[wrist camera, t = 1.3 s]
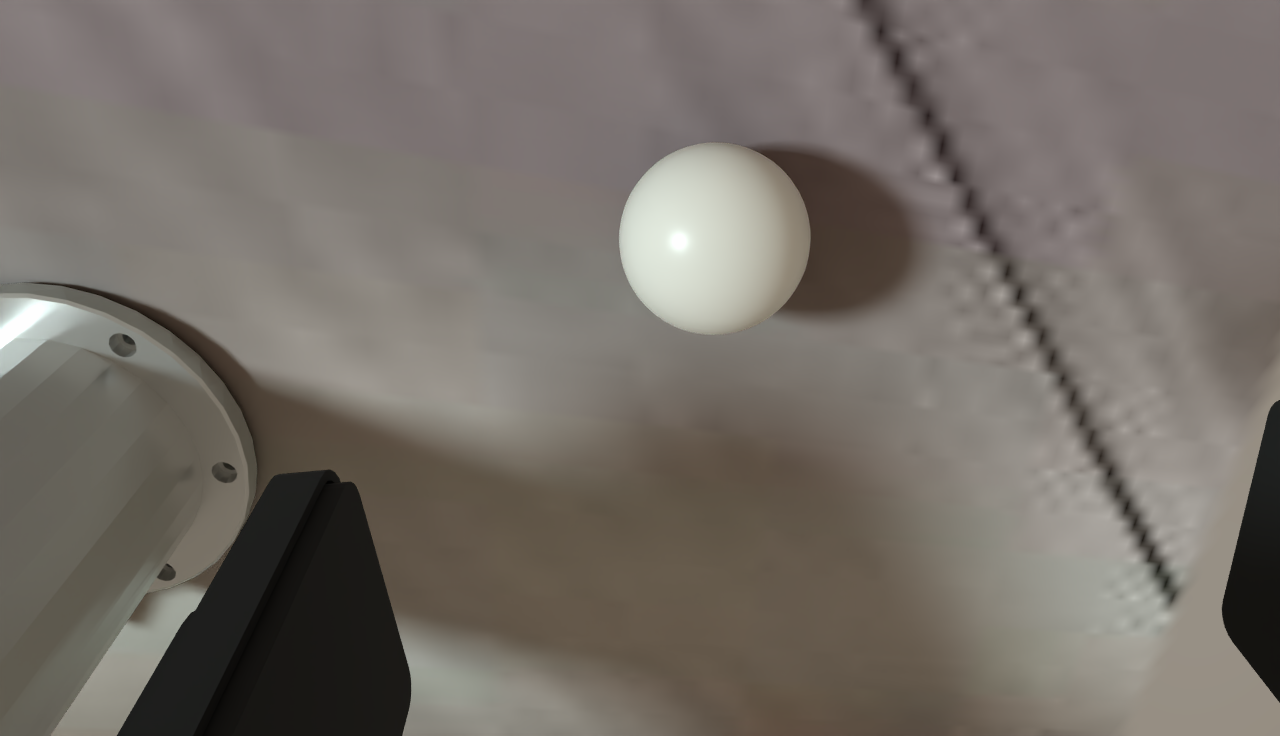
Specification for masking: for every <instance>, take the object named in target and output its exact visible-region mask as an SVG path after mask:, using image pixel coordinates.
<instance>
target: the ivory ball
mask: <svg viewBox="0 0 1280 736" xmlns="http://www.w3.org/2000/svg"><path fill="white" fill-rule="evenodd" d="M810 243H811V233H810V224H809V218H808V213H807V210H806V207H805V204H804V201H803V199H802V197H801V195H800V193H799V191H798V189H797V188H796V186H795V185H794V183H793V182H792V180H791V179H790V178H789V176H788V175H787V174H786V173H785V172H784V171H783V170H782V169H781V168H780V167H779V166H778V165H777V164H775V163H774V162H773V161H772V160H770V159H768V158H767V157H765V156H764V155H762V154H760V153H758V152H756V151H754V150H752V149H749V148H746V147H743V146H740V145H736V144H730V143H719V142H711V143H701V144H696V145H692V146H688V147H685V148H682V149H680V150H677V151H675V152H673V153H671V154H669V155H667V156H666V157H664V158H663V159H661V160H660V161H659V162H657V163H656V164H655V165H654V166H652V167H651V168H650V169H649V170H648V171H647V172H646V173H645V174H644V176H643V177H642V178H641V179H640V180H639V182H638V183H637V184H636V186H635V187H634V189H633V191H632V192H631V194H630V196H629V198H628V200H627V203H626V205H625V208H624V212H623V215H622V219H621V224H620V231H619V246H620V255H621V261H622V265H623V268H624V271H625V274H626V276H627V279H628V281H629V283H630V285H631V287H632V288H633V290H634V292H635V293H636V295H637V296H638V297H639V299H640V300H641V301H642V303H643V304H644V305H645V306H646V307H647V308H648V309H649V310H650V311H652V312H653V313H654V314H655V315H657V316H658V317H659V318H661V319H662V320H663V321H665V322H667V323H669V324H670V325H672V326H675V327H677V328H679V329H682V330H685V331H689V332H692V333H698V334H705V335H722V334H730V333H735V332H739V331H742V330H745V329H748V328H751V327H753V326H755V325H757V324H759V323H761V322H763V321H764V320H766V319H768V318H769V317H771V316H772V315H773V314H774V313H776V312H777V311H778V310H779V309H780V308H781V307H782V306H783V305H784V304H785V303H786V302H787V301H788V299H789V298H790V297H791V296H792V294H793V293H794V291H795V290H796V288H797V286H798V284H799V283H800V281H801V279H802V277H803V274H804V272H805V269H806V266H807V262H808V258H809V251H810Z"/></svg>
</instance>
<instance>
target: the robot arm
mask: <svg viewBox="0 0 1280 736" xmlns="http://www.w3.org/2000/svg"><path fill="white" fill-rule="evenodd" d="M256 480H257V463H256V457H255V451H254V445H253V439H252V437H251V434H250V432H249V429H248V427H247V424H246V422H245V419H244V417H243V414H242V412H241V409H240V408H239V406H238V405H237V403H236V402H235V400H234V398H233V397H232V395H231V394H230V392H229V391H228V389H227V387H226V386H225V384H224V383H223V381H222V380H221V379H220V378H219V377H218V376H217V375H216V373H215V372H214V371H213V370H212V369H211V368H210V367H209V366H208V365H207V363H206V362H205V361H204V360H203V359H202V358H201V357H200V356H199V355H198V354H197V353H196V352H195V351H193V350H192V349H191V348H190V347H189V346H187V345H186V344H185V343H184V342H182V341H181V340H180V339H179V338H178V337H176V336H175V335H174V334H173V333H171V332H170V331H169V330H167V329H165V328H164V327H162V326H160V325H159V324H157V323H155V322H154V321H152V320H150V319H149V318H147V317H145V316H144V315H142V314H140V313H139V312H137V311H135V310H133V309H130V308H128V307H126V306H123V305H121V304H118V303H116V302H114V301H111V300H109V299H106V298H104V297H102V296H99V295H95V294H91V293H87V292H83V291H80V290H76V289H72V288H68V287H64V286H57V285H45V284H34V283H14V284H2V285H0V736H50V735H51V734H52V732H53V731H54V729H55V728H56V726H57V725H58V723H59V722H60V720H61V719H62V717H63V716H64V714H65V713H66V712H67V710H68V709H69V707H70V706H71V704H72V703H73V701H74V700H75V698H76V697H77V695H78V694H79V692H80V691H81V689H82V688H83V686H84V685H85V683H86V682H87V680H88V679H89V677H90V676H91V674H92V673H93V671H94V670H95V668H96V667H97V665H98V664H99V662H100V661H101V659H102V658H103V656H104V655H105V654H106V652H107V651H108V649H109V648H110V646H111V645H112V643H113V642H114V640H115V639H116V637H117V636H118V634H119V633H120V631H121V630H122V628H123V627H124V625H125V624H126V622H127V621H128V619H129V618H130V616H131V615H132V613H133V612H134V610H135V609H136V607H137V606H138V604H139V603H140V601H141V600H142V599H143V597H144V596H145V594H147V593H151V592H155V591H159V590H164V589H168V588H172V587H174V586H176V585H179V584H181V583H183V582H185V581H188V580H190V579H192V578H194V577H196V576H198V575H199V574H201V573H202V572H203V571H205V570H206V569H207V568H209V567H210V566H212V565H213V564H214V563H216V562H217V561H218V560H219V559H220V558H221V556H222V555H223V554H224V553H225V552H226V550H227V549H228V548H229V547H230V546H231V544H232V543H233V542H234V540H235V539H236V537H237V535H238V534H239V532H240V530H241V528H242V527H243V525H244V523H245V521H246V520H247V518H248V515H249V512H250V509H251V506H252V503H253V500H254V497H255V494H256ZM1222 616H1223V621H1224V625H1225V628H1226V631H1227V633H1228V635H1229V637H1230V638H1231V640H1232V642H1233V643H1234V644H1235V646H1236V647H1237V648H1238V649H1239V651H1240V652H1241V653H1242V655H1243V656H1244V657H1245V659H1246V660H1247V661H1248V662H1249V664H1250V665H1251V666H1252V668H1253V669H1254V670H1255V671H1256V673H1257V674H1258V675H1259V677H1260V678H1261V679H1262V680H1263V682H1264V683H1265V684H1266V686H1267V687H1268V688H1269V689H1270V691H1271V692H1272V693H1273V695H1274V696H1275V697H1276V698H1277V700H1278V701H1279V702H1280V400H1279V401H1277V402H1275V403H1274V404H1273V406H1272V407H1271V409H1270V411H1269V414H1268V417H1267V421H1266V425H1265V430H1264V434H1263V438H1262V442H1261V446H1260V450H1259V454H1258V458H1257V463H1256V467H1255V471H1254V475H1253V479H1252V483H1251V487H1250V491H1249V496H1248V500H1247V504H1246V508H1245V512H1244V516H1243V520H1242V524H1241V528H1240V532H1239V537H1238V541H1237V545H1236V549H1235V553H1234V557H1233V562H1232V565H1231V570H1230V574H1229V578H1228V582H1227V586H1226V590H1225V595H1224V599H1223V604H1222ZM410 701H411V677H410V671H409V667H408V663H407V660H406V656H405V653H404V649H403V646H402V642H401V639H400V635H399V631H398V628H397V624H396V621H395V617H394V614H393V610H392V607H391V603H390V600H389V596H388V593H387V589H386V586H385V582H384V579H383V575H382V572H381V568H380V565H379V561H378V558H377V554H376V551H375V547H374V544H373V540H372V537H371V533H370V530H369V526H368V523H367V519H366V516H365V512H364V509H363V505H362V502H361V498H360V495H359V492H358V489H357V487H356V486H355V484H354V483H352V482H342V483H341V482H340V479H339V477H338V476H337V475H336V473H335V472H334V471H332V470H321V471H310V472H299V473H287V474H279V475H276V476H274V477H273V478H272V479H271V481H270V482H269V484H268V485H267V487H266V489H265V491H264V492H263V494H262V496H261V497H260V499H259V501H258V503H257V504H256V506H255V508H254V510H253V511H252V513H251V515H250V517H249V518H248V520H247V522H246V524H245V525H244V527H243V529H242V530H241V532H240V534H239V536H238V537H237V539H236V541H235V543H234V544H233V546H232V548H231V550H230V551H229V553H228V555H227V557H226V558H225V560H224V562H223V563H222V565H221V567H220V569H219V570H218V572H217V574H216V576H215V577H214V579H213V581H212V583H211V584H210V586H209V588H208V590H207V591H206V593H205V595H204V596H203V598H202V600H201V602H200V603H199V605H198V607H197V609H196V610H195V611H194V612H192V613H190V615H189V616H188V617H187V618H186V620H185V621H184V622H183V624H182V625H181V627H180V628H179V630H178V632H177V633H176V635H175V637H174V639H173V640H172V642H171V644H170V645H169V647H168V649H167V651H166V652H165V654H164V656H163V657H162V659H161V661H160V663H159V664H158V666H157V668H156V669H155V671H154V673H153V675H152V676H151V678H150V680H149V681H148V683H147V685H146V687H145V688H144V690H143V692H142V693H141V695H140V697H139V699H138V700H137V702H136V704H135V705H134V707H133V709H132V711H131V712H130V714H129V716H128V717H127V719H126V721H125V723H124V724H123V726H122V728H121V729H120V731H119V733H118V735H117V736H402V734H403V730H404V726H405V722H406V718H407V714H408V711H409V706H410Z"/></svg>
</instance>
